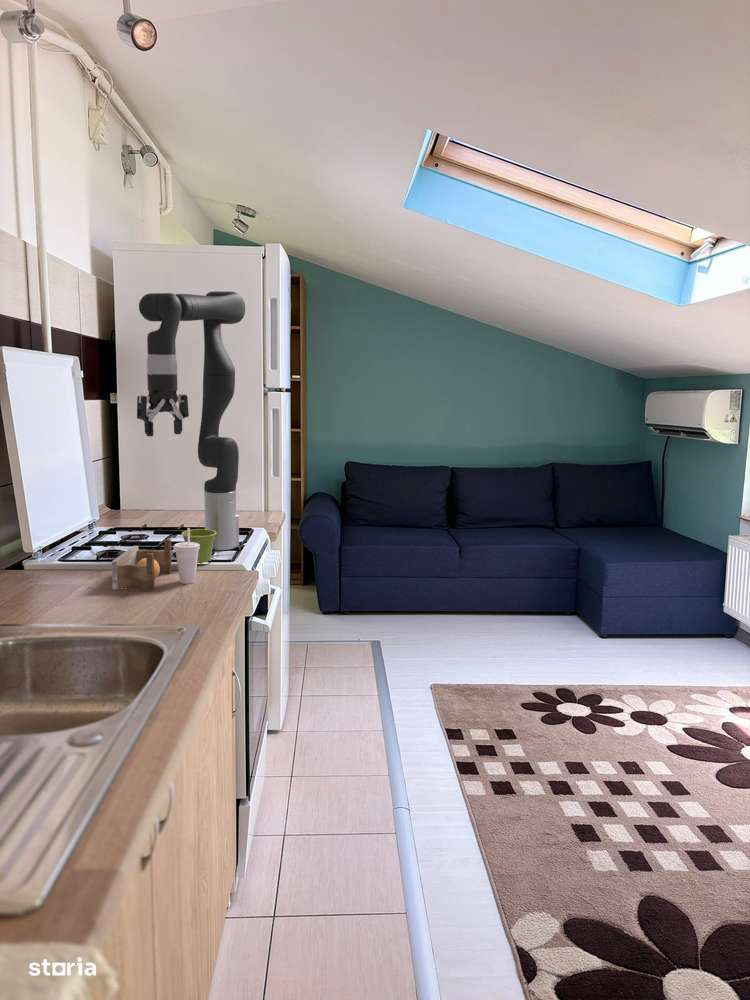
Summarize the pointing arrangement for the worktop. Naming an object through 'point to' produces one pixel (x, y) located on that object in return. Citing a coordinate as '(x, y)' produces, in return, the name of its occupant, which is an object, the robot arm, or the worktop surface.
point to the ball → (156, 566)
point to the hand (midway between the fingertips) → (163, 435)
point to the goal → (140, 567)
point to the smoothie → (187, 560)
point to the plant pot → (202, 542)
